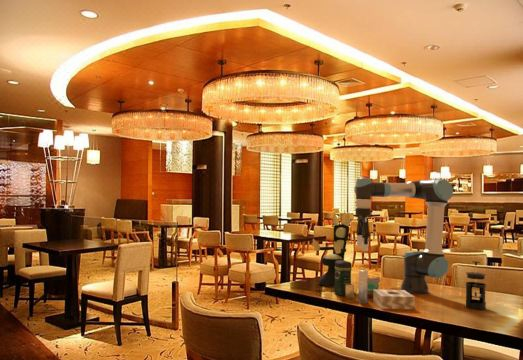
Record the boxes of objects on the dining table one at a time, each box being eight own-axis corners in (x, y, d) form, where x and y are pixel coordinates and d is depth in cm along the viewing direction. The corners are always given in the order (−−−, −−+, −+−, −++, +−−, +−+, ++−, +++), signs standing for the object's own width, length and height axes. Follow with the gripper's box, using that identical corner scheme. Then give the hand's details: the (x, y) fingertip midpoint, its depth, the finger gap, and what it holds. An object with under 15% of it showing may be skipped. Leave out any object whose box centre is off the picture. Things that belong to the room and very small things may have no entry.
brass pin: (352, 297, 243) (353, 284, 244) (354, 299, 239) (354, 285, 239) (344, 297, 243) (344, 283, 244) (346, 299, 239) (346, 285, 239)
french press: (473, 304, 233) (474, 259, 234) (491, 308, 225) (491, 261, 225) (459, 307, 227) (459, 260, 228) (476, 311, 219) (476, 263, 219)
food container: (363, 297, 243) (364, 278, 243) (358, 295, 249) (358, 276, 249) (384, 297, 246) (384, 278, 246) (378, 294, 252) (378, 276, 252)
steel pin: (366, 301, 234) (366, 270, 235) (368, 303, 230) (368, 271, 231) (357, 301, 234) (358, 269, 235) (359, 303, 230) (360, 271, 231)
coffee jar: (353, 295, 247) (354, 261, 248) (340, 296, 244) (341, 261, 245) (344, 292, 256) (344, 259, 257) (331, 292, 253) (332, 259, 254)
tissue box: (404, 301, 235) (404, 290, 236) (414, 309, 219) (414, 296, 220) (373, 301, 235) (373, 289, 236) (381, 308, 219) (381, 296, 220)
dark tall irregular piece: (310, 284, 278) (311, 210, 279) (333, 280, 293) (334, 210, 294) (334, 289, 264) (336, 211, 265) (357, 285, 279) (359, 211, 280)
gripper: (351, 207, 247) (350, 246, 246) (360, 208, 222) (360, 251, 221) (365, 207, 247) (364, 246, 246) (376, 208, 222) (375, 252, 221)
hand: (362, 249), depth 234 cm, fingers open, 13 cm apart
